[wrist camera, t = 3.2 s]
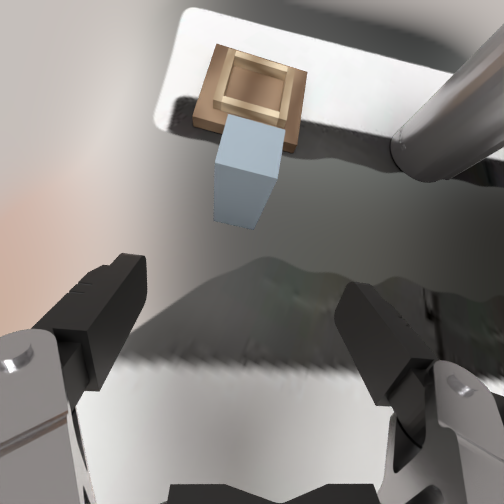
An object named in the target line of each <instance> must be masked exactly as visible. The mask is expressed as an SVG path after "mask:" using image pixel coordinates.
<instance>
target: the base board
mask: <svg viewBox="0 0 504 504" xmlns="http://www.w3.org/2000/svg"><path fill="white" fill-rule="evenodd" d="M306 78H307V72H306V71H302V70H299V69H296V68H293V67H290V66H286V65H283V64H280V63H277V62H274V61H270V60H267V59H264V58H261V57H258V56H255V55H251V54H248V53H245V52H242V51H239V50H235V49H232V48H229V47H226V46H223V45H219V44H216V47H215V50H214V53H213V56H212V59H211V62H210V65H209V68H208V71H207V74H206V77H205V80H204V83H203V86H202V89H201V92H200V95H199V98H198V101H197V104H196V107H195V110H194V113H193V116H192V117H193V126H195V127H198V128H202V129H206V130H209V131H213V132H217V133H220V134H223V131H224V127H225V124H226V120H227V116H228V114H231V115H234V116H238V117H242V118H245V119H249V120H252V121H256V122H259V123H263V124H266V125H270V126H274V127H277V128H281V129H284V130H285V136H284V142H283V148H282V150H283V151H286V152H290V153H293V152H294V150H295V148H296V146H297V141H298V134H299V127H300V120H301V113H302V106H303V99H304V92H305V85H306Z"/></svg>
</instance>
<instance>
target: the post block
mask: <svg viewBox="0 0 504 504" xmlns="http://www.w3.org/2000/svg"><path fill="white" fill-rule="evenodd" d="M284 136H285V130H284V129H281V128H277V127H274V126H270V125H266V124H263V123H259V122H256V121H252V120H249V119H245V118H242V117H238V116H234V115H231V114H228V116H227V120H226V124H225V127H224V131H223V135H222V138H221V142H220V146H219V150H218V154H217V157H216V161H215V183H214V221H217V222H221V223H226V224H230V225H234V226H239V227H243V228H247V229H252V230H254V228H255V226H256V224H257V222H258V220H259V218H260V215H261V213H262V211H263V209H264V206H265V205H266V202H267V200H268V198H269V196H270V194H271V192H272V190H273V187H274V185H275V183H276V181H277V178H278V172H279V166H280V160H281V154H282V148H283V142H284Z"/></svg>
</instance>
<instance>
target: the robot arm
mask: <svg viewBox="0 0 504 504" xmlns="http://www.w3.org/2000/svg"><path fill="white" fill-rule="evenodd" d="M390 147H391V153H392V156H393V159H394V160H395V162H396V164H397V165H398V166H399V168H400V169H401V170H402V171H403V172H404V173H405V174H407V175H408V176H410V177H412V178H413V179H415V180H418V181H421V182H429V183H430V182H436V181H438V180H440V179H445V180H449V179H451V178H452V177H454V176H456V175H457V174H459V173H461V172H462V171H464V170H466V169H467V168H469V167H471V166H473V165H474V164H476V163H478V162H479V161H481V160H483V159H484V158H486V157H488V156H489V155H491V154H493V153H494V152H496V151H498V150H499V149H501V148H503V147H504V24H503V25H502V26H501V27H500V28H499V29H498V30H497V31H496V32H495V33H494V34H493V35H492V36H491V37H490V38H489V39H488V40H487V41H486V42H485V43H484V44H483V45H482V46H481V47H480V48H479V49H478V50H477V51H476V52H475V53H474V54H473V55H472V57H471V58H470V59H468V61H467V62H466V63H465V64H464V65H463V66H462V67H461V68H460V69H459V70H458V71H457V72H456V73H455V74H454V75H453V76H452V77H451V78H450V79H449V80H448V81H447V82H446V83H445V84H444V85H443V86H442V87H441V88H440V89H439V90H438V91H437V92H436V93H435V94H434V95H433V96H432V97H431V98H430V99H429V100H428V101H427V102H426V103H425V104H424V105H423V106H422V107H421V108H420V109H419V110H418V111H417V112H416V113H415V114H414V115H413V116H412V117H411V118H410V119H409V120H408V121H407V122H406V123H405V124H404V125H403V126H402V127H401V129H400V130H399V131H398V132H397V133H396V134H395V135H394V136H393V138H392V140H391V146H390ZM146 296H147V268H146V258H145V256H142V255H133V254H126V253H121V254H120V255H119V256H118V257H117V258H116V259H115V260H114V262H113V263H112V264H111V265H110V266H109V265H102V266H100V267H98V268H96V269H94V270H92V271H90V272H88V273H87V274H86V275H85V276H84V277H83V278H82V279H81V280H80V281H79V282H78V284H76V285H75V286H74V287H73V288H72V289H71V290H70V291H69V293H67V294H66V295H65V296H64V297H63V298H62V299H61V300H60V301H59V302H58V303H57V304H56V305H55V306H54V307H52V309H51V310H50V311H48V312H47V313H46V314H45V315H44V316H43V318H41V319H40V320H39V321H38V322H37V323H36V324H35V325H34V326H33V327H32V328H31V329H27V330H21V331H16V332H13V333H10V334H7V335H4V336H2V337H0V504H97V503H96V499H95V495H94V491H93V487H92V482H91V478H90V473H89V468H88V463H87V458H86V453H85V448H84V443H83V438H82V433H81V428H80V423H79V418H78V413H77V408H76V405H77V403H78V401H79V399H80V398H81V396H82V394H83V392H84V391H100V389H101V387H102V385H103V384H104V382H105V380H106V378H107V376H108V374H109V372H110V370H111V368H112V366H113V364H114V362H115V360H116V359H117V357H118V355H119V353H120V351H121V349H122V347H123V345H124V343H125V341H126V339H127V337H128V335H129V334H130V332H131V330H132V328H133V326H134V324H135V322H136V320H137V318H138V316H139V314H140V312H141V310H142V308H143V306H144V304H145V301H146ZM334 320H335V324H336V327H337V329H338V331H339V333H340V335H341V337H342V339H343V341H344V343H345V345H346V347H347V349H348V351H349V353H350V355H351V357H352V359H353V361H354V363H355V365H356V367H357V369H358V371H359V373H360V375H361V377H362V379H363V381H364V383H365V385H366V387H367V389H368V391H369V393H370V395H371V397H372V399H373V401H374V403H375V405H376V406H392V408H393V410H394V413H393V414H392V415H391V417H390V423H389V433H388V443H387V453H386V463H385V472H384V478H383V482H382V485H381V487H380V489H379V491H378V493H376V490H375V488H374V485H373V484H326V485H324V486H322V487H319V488H317V489H315V490H312V491H310V492H308V493H306V494H303V495H301V496H299V497H296V498H294V499H292V500H289V501H287V502H284V503H275V502H272V501H269V500H267V499H264V498H261V497H258V496H256V495H253V494H250V493H247V492H245V491H242V490H239V489H236V488H234V487H231V486H228V485H226V484H171V485H170V490H169V495H168V501H166V502H163V503H160V504H504V397H503V396H501V395H498V394H495V393H492V392H490V391H489V389H488V388H487V387H486V386H485V385H484V384H483V383H482V382H481V381H480V380H479V379H478V378H477V377H476V376H474V375H473V374H472V373H470V372H469V371H467V370H466V369H464V368H462V367H460V366H458V365H456V364H454V363H451V362H448V361H440V360H439V359H438V357H437V356H436V355H435V354H434V353H433V352H432V351H431V349H430V348H429V347H428V346H427V345H426V344H425V342H424V341H423V340H422V339H421V338H420V337H419V336H418V334H417V333H416V332H415V331H414V330H413V329H412V328H410V327H409V326H410V325H409V324H408V323H407V322H406V321H405V319H402V316H401V315H400V314H399V313H398V311H397V310H396V309H395V308H394V307H393V306H392V305H391V304H389V303H388V302H387V301H385V300H384V299H383V298H382V297H381V296H380V295H379V293H378V292H377V291H376V290H375V289H374V287H373V286H372V285H370V284H366V283H358V282H349V283H348V284H347V286H346V288H345V290H344V292H343V294H342V297H341V299H340V301H339V303H338V305H337V308H336V310H335V314H334Z"/></svg>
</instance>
